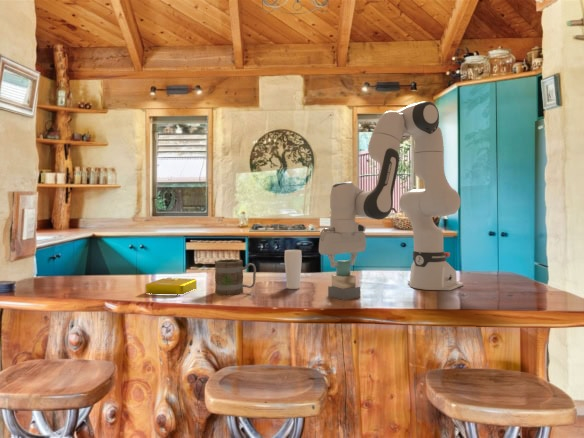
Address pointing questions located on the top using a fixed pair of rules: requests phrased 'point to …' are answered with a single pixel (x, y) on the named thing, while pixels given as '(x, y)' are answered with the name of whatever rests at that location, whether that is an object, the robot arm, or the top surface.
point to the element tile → (171, 286)
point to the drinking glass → (293, 268)
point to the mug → (231, 277)
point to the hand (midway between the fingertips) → (342, 265)
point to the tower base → (344, 292)
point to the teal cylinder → (343, 268)
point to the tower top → (344, 281)
